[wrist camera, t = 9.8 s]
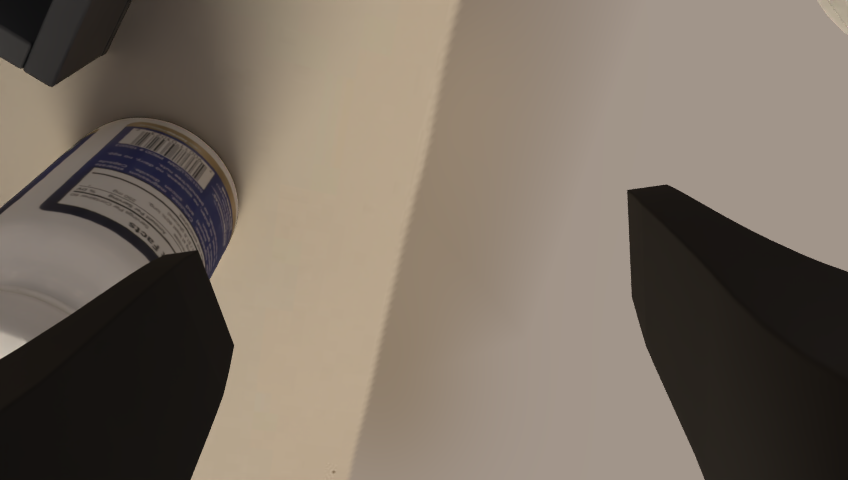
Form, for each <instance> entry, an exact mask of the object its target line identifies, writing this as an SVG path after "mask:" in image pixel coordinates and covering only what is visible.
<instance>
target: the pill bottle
mask: <svg viewBox="0 0 848 480" xmlns="http://www.w3.org/2000/svg"><path fill="white" fill-rule="evenodd" d="M237 218H238V198H237V193H236V188H235V185H234V182H233V180H232V177H231V175H230V173H229V171H228V169H227V168H226V166H225V164H224V163H223V161H222V160H221V159H220V158H219V156H218V155H217V154H216V153H215V152H214V151H213V149H212V148H210V147H209V146H208V145H207V144H206V143H205V142H204V141H202V140H201V139H200V138H198V137H197V136H196V135H194V134H193V133H191V132H189V131H188V130H186V129H184V128H182V127H180V126H177V125H175V124H172V123H170V122H166V121H162V120H158V119H151V118H126V119H120V120H116V121H113V122H110V123H108V124H105V125H103V126H101V127H99V128H97V129H96V130H94V131H92V132H91V133H89V134H88V135H86V136H85V137H83V138H82V139H81V140H80V141H78V142H77V143H76V144H75V145H74V146H73V147H71V148H70V149H69V150H68V151H66V152H65V153H64V154H63V155H62V156H60V157H59V158H58V159H57V160H56V161H55V162H54V163H53V164H51V165H50V166H49V167H48V168H47V169H46V170H45V171H43V172H42V173H41V174H40V175H39V176H37V177H36V178H35V179H34V180H33V181H32V182H31V183H29V184H28V185H27V186H26V187H25V188H24V189H22V190H21V191H20V192H19V193H18V194H16V195H15V196H14V197H13V198H12V199H11V200H9V201H8V202H7V203H6V204H5V205H3V206H2V207H1V208H0V359H1V358H3V357H5V356H6V355H8V354H10V353H11V352H13V351H15V350H16V349H18V348H19V347H21V346H23V345H24V344H26V343H27V342H29V341H30V340H32V339H33V338H35V337H37V336H38V335H40V334H41V333H43V332H44V331H46V330H48V329H49V328H51V327H52V326H54V325H55V324H57V323H59V322H60V321H62V320H63V319H65V318H66V317H68V316H69V315H71V314H72V313H74V312H75V311H77V310H78V309H80V308H81V307H83V306H84V305H86V304H87V303H88V302H90V301H91V300H93V299H94V298H96V297H97V296H99V295H100V294H102V293H103V292H105V291H106V290H108V289H109V288H110V287H112V286H113V285H115V284H116V283H118V282H119V281H121V280H122V279H124V278H125V277H127V276H128V275H130V274H131V273H133V272H135V271H136V270H138V269H139V268H141V267H143V266H144V265H146V264H148V263H149V262H151V261H153V260H155V259H157V258H159V257H161V256H163V255H166V254H173V253H180V252H188V251H195V250H198V251H199V254H200V256H201V259H202V262H203V264H204V267H205V270H206V272H207V275H208V278H209V280H210V278H211V276H212V274H213V272H214V270H215V268H216V267H217V265H218V263H219V261H220V259H221V257H222V255H223V253H224V251H225V250H226V248H227V246H228V244H229V241H230V239H231V237H232V235H233V232H234V230H235V226H236V223H237Z"/></svg>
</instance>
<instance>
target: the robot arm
mask: <svg viewBox="0 0 848 480" xmlns="http://www.w3.org/2000/svg"><path fill="white" fill-rule="evenodd" d="M627 194H628V215H629V216H628V217H629V241H630V264H631V287H632V299H633V302H634V306H635V309H636V313H637V317H638V320H639V323H640V327H641V330H642V334H643V337H644V340H645V344H646V347H647V349H648V351H649V353H650V356H651V358H652V361H653V363H654V365H655V367H656V370H657V372H658V374H659V376H660V379H661V381H662V383H663V385H664V388H665V390H666V392H667V394H668V396H669V398H670V401H671V403H672V405H673V407H674V410H675V412H676V414H677V416H678V419H679V421H680V423H681V425H682V427H683V430H684V432H685V434H686V436H687V438H688V440H689V443H690V445H691V447H692V449H693V452H694V453H695V456H696V459H697V461H698V464H699V466H700V469H701V471H702V474H703V476H704V479H705V480H848V272H847V271H844V270H841V269H838V268H836V267H833V266H830V265H827V264H824V263H822V262H819V261H817V260H814V259H812V258H809V257H807V256H805V255H802V254H800V253H798V252H796V251H793V250H791V249H789V248H787V247H785V246H782V245H780V244H778V243H776V242H774V241H771V240H769V239H767V238H765V237H763V236H761V235H759V234H757V233H755V232H753V231H751V230H749V229H747V228H745V227H743V226H742V225H740V224H738V223H736V222H734V221H732V220H730V219H729V218H726V217H725V216H723V215H721V214H720V213H718V212H716V211H714V210H712V209H711V208H709V207H707V206H705V205H704V204H702V203H700V202H698V201H696V200H695V199H693V198H691V197H689V196H688V195H686V194H684V193H682V192H681V191H679V190H677V189H675V188H673V187H671V186H668V185H660V186H653V187H646V188H639V189H632V190H628V192H627ZM233 348H234V344H233V341H232V339H231V336H230V333H229V331H228V328H227V325H226V323H225V320H224V317H223V315H222V312H221V309H220V307H219V304H218V302H217V299H216V296H215V294H214V291H213V288H212V286H211V283H210V280H209V278H208V275H207V272H206V270H205V267H204V264H203V262H202V259H201V256H200V254H199V251H198V250H195V251H188V252H180V253H173V254H166V255H163V256H161V257H159V258H157V259H155V260H153V261H151V262H149V263H148V264H146V265H144V266H143V267H141V268H139V269H138V270H136V271H135V272H133V273H131V274H130V275H128V276H127V277H125V278H124V279H122V280H121V281H119V282H118V283H116V284H115V285H113V286H112V287H110V288H109V289H108V290H106V291H105V292H103V293H102V294H100V295H99V296H97V297H96V298H94V299H93V300H91V301H90V302H88V303H87V304H86V305H84V306H83V307H81V308H80V309H78V310H77V311H75V312H74V313H72V314H71V315H69V316H68V317H66V318H65V319H63V320H62V321H60V322H59V323H57V324H55V325H54V326H52V327H51V328H49V329H48V330H46V331H44V332H43V333H41V334H40V335H38V336H37V337H35V338H33V339H32V340H30V341H29V342H27V343H26V344H24V345H23V346H21V347H19V348H18V349H16V350H15V351H13V352H11V353H10V354H8V355H6V356H5V357H3V358H1V359H0V480H191V477H192V475H193V472H194V470H195V467H196V465H197V462H198V460H199V457H200V454H201V452H202V449H203V447H204V444H205V442H206V439H207V437H208V434H209V432H210V429H211V426H212V424H213V421H214V419H215V416H216V413H217V411H218V408H219V405H220V403H221V400H222V397H223V394H224V390H225V386H226V382H227V378H228V373H229V369H230V364H231V358H232V353H233Z"/></svg>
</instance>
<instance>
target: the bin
mask: <svg viewBox="0 0 848 480" xmlns="http://www.w3.org/2000/svg"><path fill="white" fill-rule="evenodd" d="M130 2H131V0H0V57H1V58H3V59H5V60H6V61H8V62H10V63H11V64H13V65H15V66H16V67H18V68H24V71H25V72H26V73H28V74H30V75H31V76H33V77H35V78H36V79H38V80H40V81H41V82H43V83H45V84H46V85H48V86H50V87H53V86H54V85H56V84H58V83H59V82H61V81H62V80H64V79H65V78H67V77H69V76H70V75H72V74H73V73H75V72H76V71H78V70H79V69H81V68H83V67H84V66H86V65H87V64H89V63H90V62H92V61H93V60H95V59H97V58H98V57H100V56H103V55H104V54H106V52H107V50H108V48H109V46H110V44H111V42H112V40H113V38H114V36H115V34H116V32H117V29H118V27H119V25H120V23H121V21H122V19H123V17H124V15H125V13H126V11H127V9H128V7H129V5H130Z"/></svg>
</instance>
